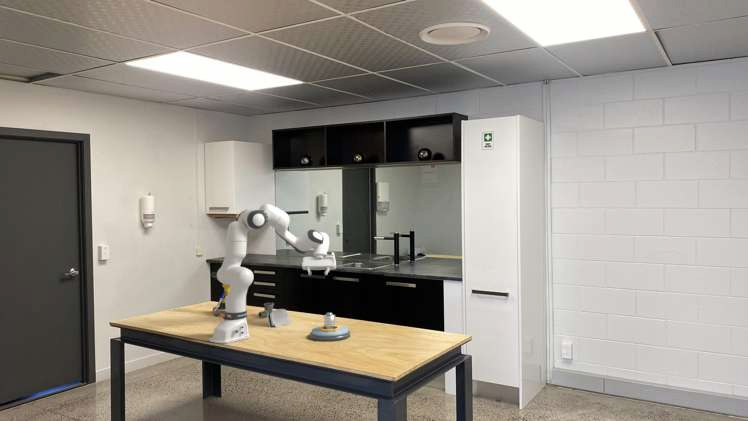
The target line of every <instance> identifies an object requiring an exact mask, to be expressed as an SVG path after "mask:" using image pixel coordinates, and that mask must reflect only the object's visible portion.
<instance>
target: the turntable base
mask: <svg viewBox="0 0 748 421" xmlns="http://www.w3.org/2000/svg"><path fill="white" fill-rule="evenodd" d="M350 337H351V331H350V330H349V329H348V333H347V334H346V335H343V336H338V337H318V336H314V335H312V331H310V333H309V339H310V340H312V341H315V342H322V343H323V342H324V343H326V342H327V343H329V342H330V343H331V342H340V341H344V340H347V339H349V338H350Z"/></svg>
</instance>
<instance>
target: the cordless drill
mask: <svg viewBox="0 0 748 421" xmlns="http://www.w3.org/2000/svg"><path fill="white" fill-rule="evenodd" d="M217 272H218V271H212V272H211V273H210V277H212V278H213V279H214V280H217V281H219V280H218V279H217ZM221 288H224V289H223V293H222V295H221V297H220V298H219V301H218V303H217V305H216V306H213V308H212V316H214V317H220V316H219V315H220V314H221V313H222V314H224V313H225V311H226V308H225V298H226V296H227V295H228V294H229V291H230V285H225V284H223V283H221Z"/></svg>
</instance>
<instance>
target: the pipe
mask: <svg viewBox="0 0 748 421" xmlns="http://www.w3.org/2000/svg"><path fill="white" fill-rule="evenodd" d="M274 305H275V302H266V303H263V308H264V310H263V311H259V312H258V313H257V315H258V317H259V318H261V319H262V318H267V315H268V314H269V313H271V312H272V311H274V310H273V309H274Z"/></svg>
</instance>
